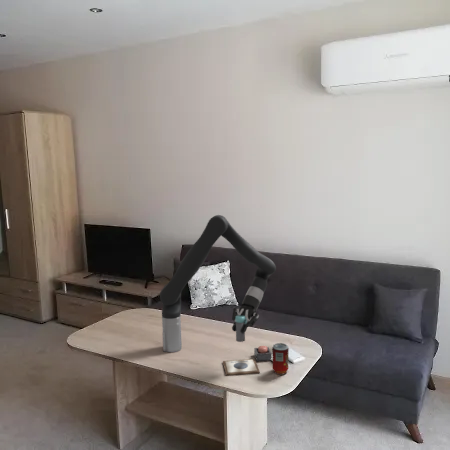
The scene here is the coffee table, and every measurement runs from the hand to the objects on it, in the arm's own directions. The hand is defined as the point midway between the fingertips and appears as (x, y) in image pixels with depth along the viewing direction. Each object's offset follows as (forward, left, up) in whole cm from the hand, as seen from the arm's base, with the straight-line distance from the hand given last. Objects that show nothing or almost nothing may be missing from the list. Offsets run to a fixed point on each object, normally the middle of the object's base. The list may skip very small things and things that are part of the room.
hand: (237, 331), depth 199 cm
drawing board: (+1, +1, -18) cm, 18 cm away
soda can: (+18, -5, -18) cm, 26 cm away
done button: (+13, +10, -15) cm, 23 cm away
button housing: (+13, +10, -18) cm, 25 cm away
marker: (+1, +1, -5) cm, 5 cm away
